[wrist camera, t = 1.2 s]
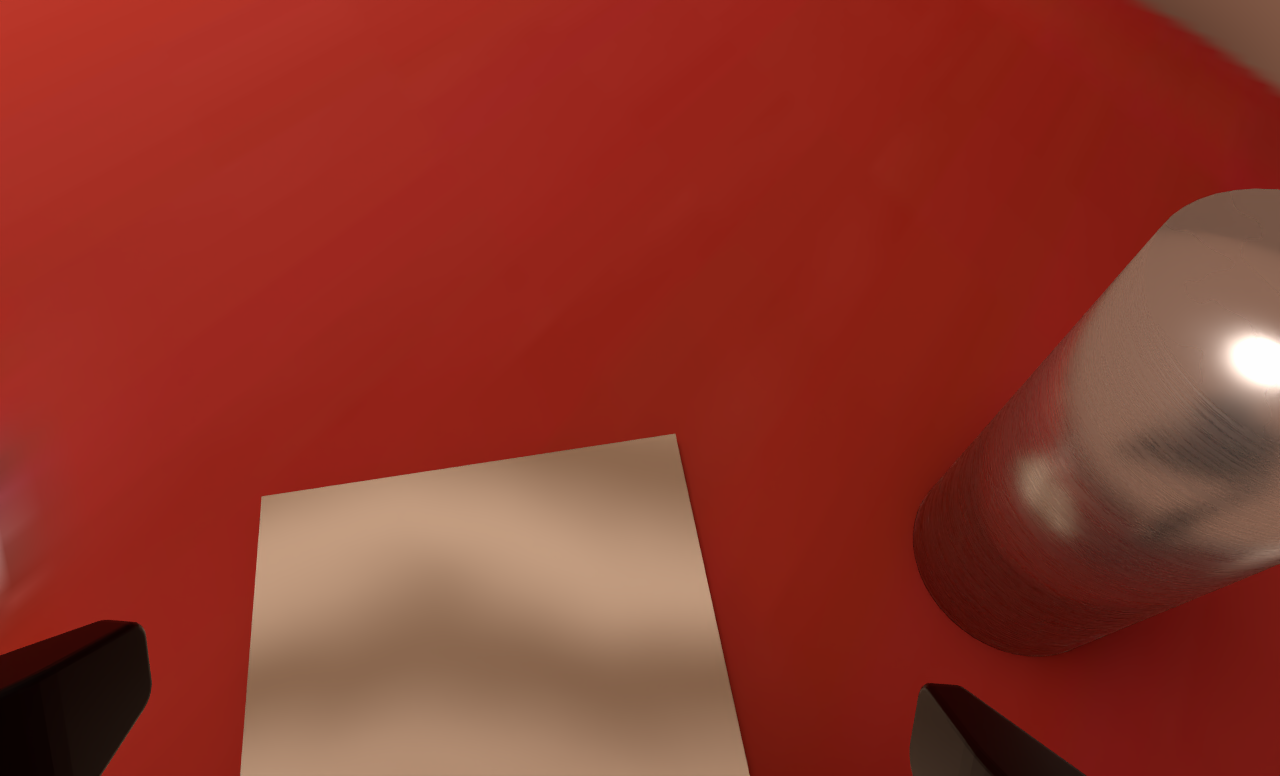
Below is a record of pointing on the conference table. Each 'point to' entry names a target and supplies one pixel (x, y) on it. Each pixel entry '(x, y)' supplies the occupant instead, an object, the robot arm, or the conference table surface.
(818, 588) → the conference table surface
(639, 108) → the conference table surface
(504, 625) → the beige square tile
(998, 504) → the steel flask
